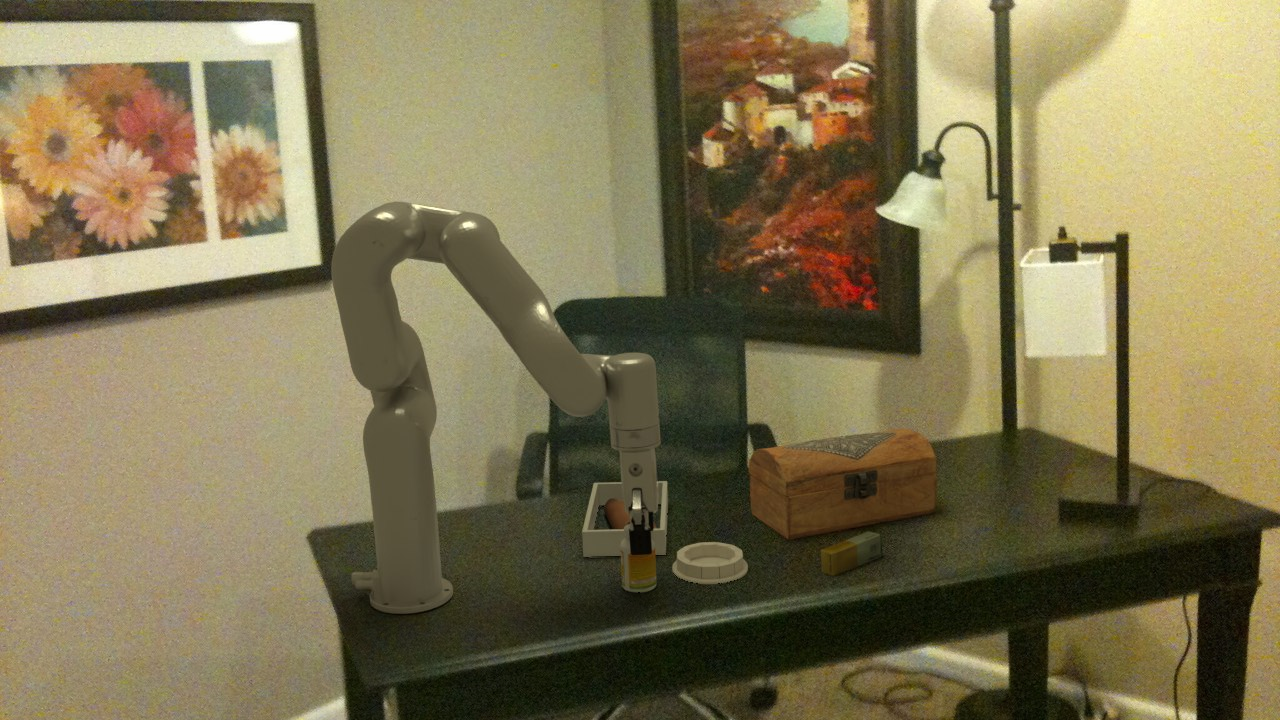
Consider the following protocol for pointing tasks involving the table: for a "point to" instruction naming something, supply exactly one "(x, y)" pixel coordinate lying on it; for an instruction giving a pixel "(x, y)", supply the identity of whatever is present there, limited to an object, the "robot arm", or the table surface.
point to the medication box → (851, 553)
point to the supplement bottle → (637, 567)
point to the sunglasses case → (617, 514)
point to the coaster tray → (710, 563)
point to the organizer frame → (611, 539)
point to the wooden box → (843, 482)
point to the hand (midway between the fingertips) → (642, 542)
